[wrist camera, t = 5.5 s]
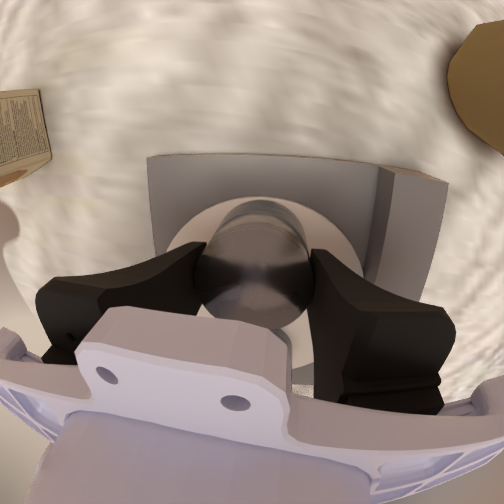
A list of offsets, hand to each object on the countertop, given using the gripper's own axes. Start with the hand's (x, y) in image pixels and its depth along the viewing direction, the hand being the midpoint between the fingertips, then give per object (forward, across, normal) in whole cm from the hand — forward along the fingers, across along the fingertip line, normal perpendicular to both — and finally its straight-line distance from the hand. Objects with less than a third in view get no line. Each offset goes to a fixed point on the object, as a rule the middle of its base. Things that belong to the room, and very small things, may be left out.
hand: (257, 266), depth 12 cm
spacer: (+2, 0, 0) cm, 2 cm away
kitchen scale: (+4, -1, +4) cm, 6 cm away
